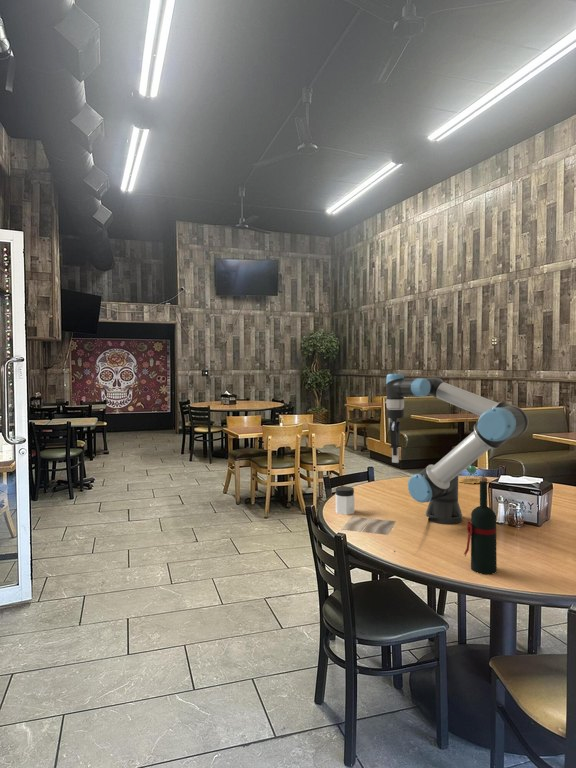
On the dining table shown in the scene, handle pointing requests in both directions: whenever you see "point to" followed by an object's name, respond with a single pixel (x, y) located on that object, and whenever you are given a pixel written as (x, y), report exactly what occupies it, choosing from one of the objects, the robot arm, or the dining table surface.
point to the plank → (356, 524)
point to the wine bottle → (482, 535)
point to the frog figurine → (471, 470)
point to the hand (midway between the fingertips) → (395, 462)
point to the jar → (344, 500)
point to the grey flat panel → (383, 528)
